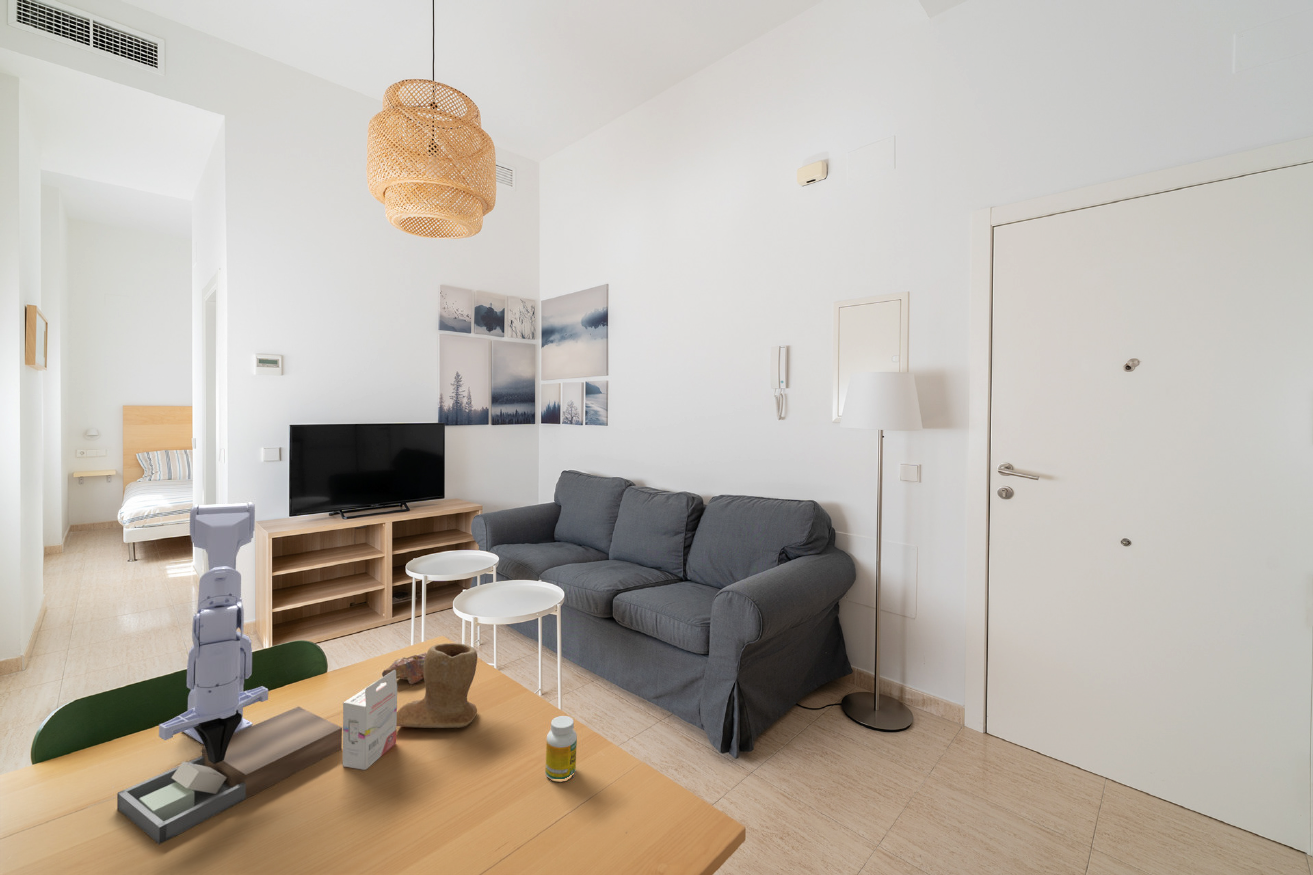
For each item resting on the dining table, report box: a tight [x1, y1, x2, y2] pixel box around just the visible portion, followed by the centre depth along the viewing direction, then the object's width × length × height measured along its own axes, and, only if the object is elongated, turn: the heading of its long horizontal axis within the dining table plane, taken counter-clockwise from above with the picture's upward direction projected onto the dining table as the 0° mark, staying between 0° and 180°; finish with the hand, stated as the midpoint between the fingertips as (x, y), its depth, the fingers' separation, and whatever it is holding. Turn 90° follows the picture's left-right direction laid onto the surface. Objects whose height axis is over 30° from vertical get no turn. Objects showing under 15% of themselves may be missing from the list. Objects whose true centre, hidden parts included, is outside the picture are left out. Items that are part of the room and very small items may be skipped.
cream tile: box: [172, 760, 227, 794], centre depth 89 cm, size 5×5×2 cm
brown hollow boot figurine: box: [396, 642, 478, 729], centre depth 114 cm, size 15×12×15 cm
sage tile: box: [139, 782, 194, 821], centre depth 85 cm, size 5×5×2 cm
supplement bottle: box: [545, 715, 578, 779], centre depth 99 cm, size 5×5×10 cm
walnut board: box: [201, 706, 343, 800], centre depth 99 cm, size 14×16×4 cm
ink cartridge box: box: [342, 670, 398, 771], centre depth 101 cm, size 9×5×15 cm, turn 168°
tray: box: [116, 755, 246, 845], centre depth 87 cm, size 14×11×2 cm
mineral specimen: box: [381, 652, 427, 685], centre depth 131 cm, size 12×8×7 cm, turn 162°
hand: (216, 760), depth 91 cm, fingers closed
